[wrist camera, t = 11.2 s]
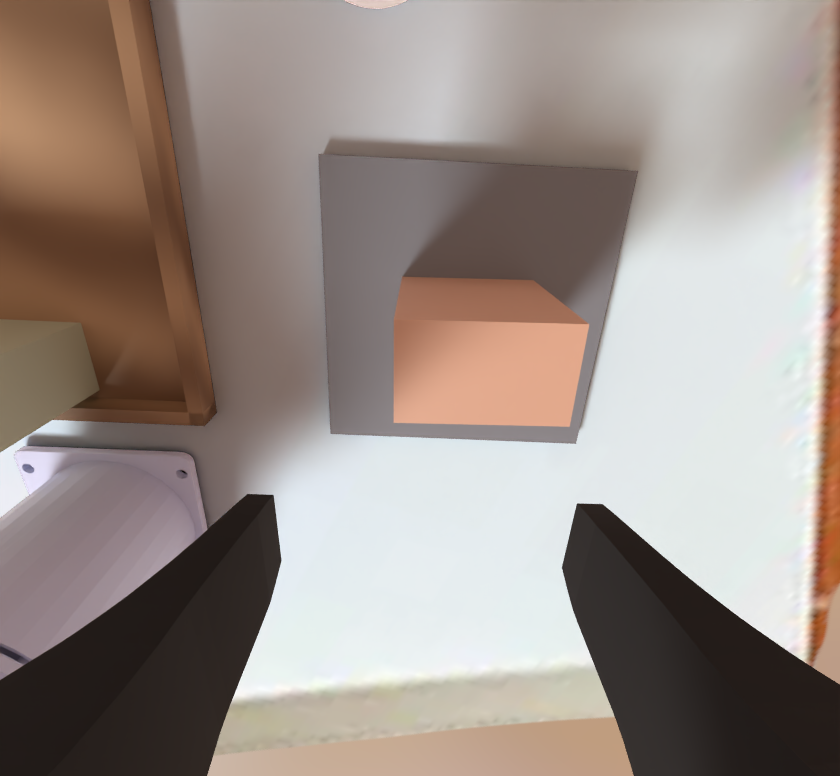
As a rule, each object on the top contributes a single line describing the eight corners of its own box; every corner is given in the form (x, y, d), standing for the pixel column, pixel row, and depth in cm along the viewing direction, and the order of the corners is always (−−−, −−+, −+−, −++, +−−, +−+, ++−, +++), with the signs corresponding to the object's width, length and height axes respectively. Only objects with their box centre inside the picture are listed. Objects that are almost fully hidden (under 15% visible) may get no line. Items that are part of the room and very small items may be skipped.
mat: (571, 436, 20) (575, 443, 20) (333, 427, 20) (330, 433, 19) (630, 171, 16) (637, 171, 15) (322, 155, 15) (318, 153, 15)
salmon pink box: (523, 354, 18) (569, 426, 12) (401, 351, 18) (393, 423, 12) (533, 280, 17) (589, 324, 11) (402, 276, 17) (393, 319, 11)
